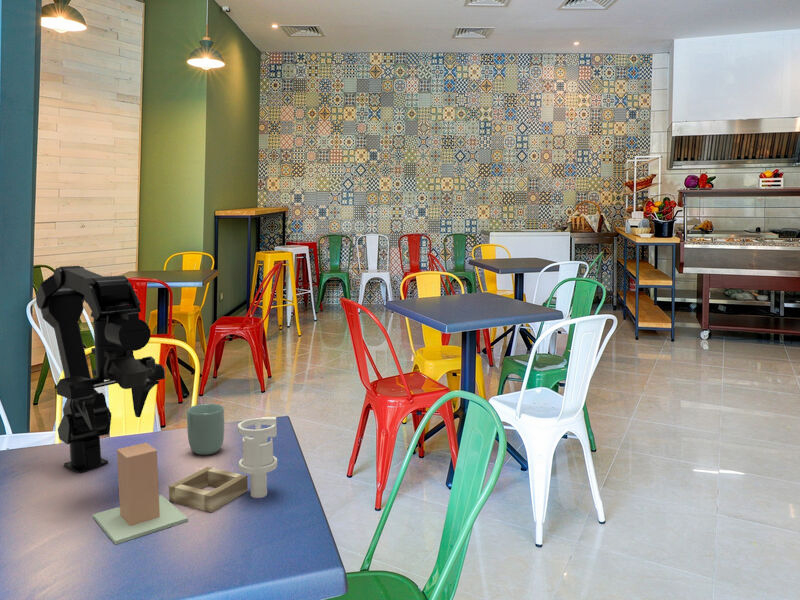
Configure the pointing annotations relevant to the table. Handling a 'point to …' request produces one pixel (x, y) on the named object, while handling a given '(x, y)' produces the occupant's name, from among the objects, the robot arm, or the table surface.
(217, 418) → the cup
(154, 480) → the block
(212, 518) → the table surface
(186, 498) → the pocket frame
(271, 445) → the white flanged cylinder housing
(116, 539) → the mat
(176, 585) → the table surface
